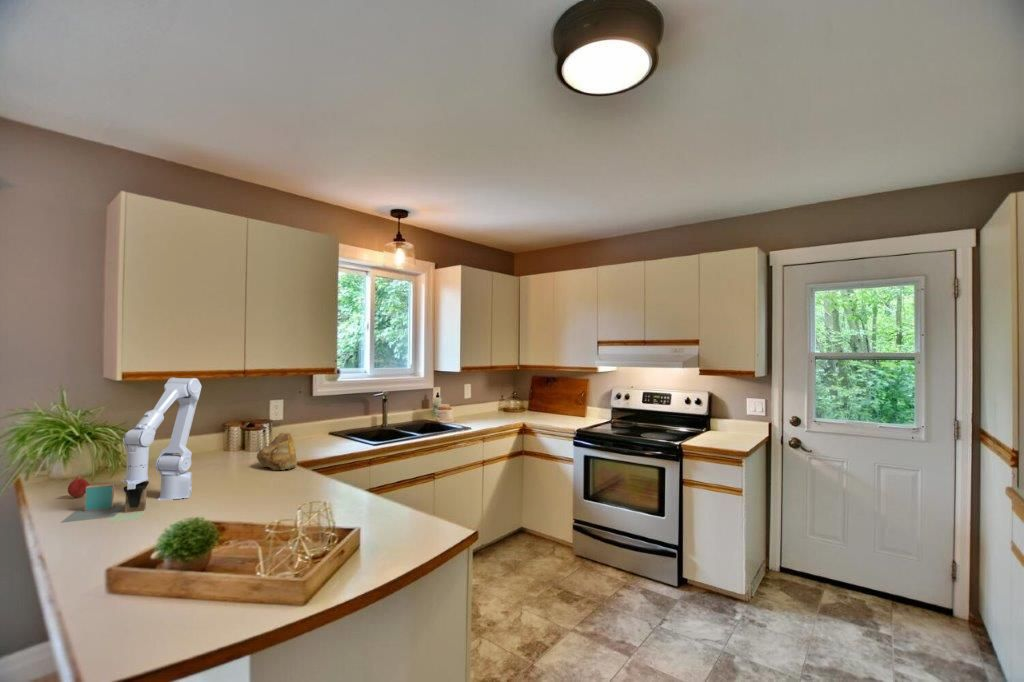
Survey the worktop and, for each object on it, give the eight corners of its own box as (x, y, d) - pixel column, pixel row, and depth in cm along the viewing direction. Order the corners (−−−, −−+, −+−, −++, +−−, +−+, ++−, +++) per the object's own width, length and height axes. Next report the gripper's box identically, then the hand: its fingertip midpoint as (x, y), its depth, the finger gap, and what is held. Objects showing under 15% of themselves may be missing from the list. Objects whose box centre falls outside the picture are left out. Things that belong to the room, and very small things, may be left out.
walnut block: (145, 509, 160) (146, 488, 161) (143, 511, 158) (144, 490, 158) (127, 511, 158) (128, 490, 158) (124, 513, 156) (125, 492, 156)
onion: (63, 501, 168) (64, 478, 168) (73, 496, 173) (74, 474, 173) (82, 500, 169) (84, 477, 169) (92, 495, 175) (93, 473, 175)
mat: (125, 505, 164) (125, 504, 164) (113, 518, 152) (113, 516, 152) (77, 510, 158) (77, 509, 158) (60, 523, 146) (60, 522, 146)
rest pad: (144, 513, 157) (144, 511, 157) (139, 519, 150) (139, 518, 150) (113, 516, 153) (113, 515, 153) (107, 523, 147) (107, 521, 147)
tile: (113, 507, 161) (114, 483, 161) (111, 508, 159) (112, 484, 159) (86, 510, 158) (87, 485, 158) (84, 511, 156) (85, 487, 156)
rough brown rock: (257, 465, 230) (255, 434, 230) (294, 459, 238) (293, 430, 238) (257, 477, 210) (255, 444, 209) (298, 471, 218) (296, 438, 217)
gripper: (128, 461, 163) (126, 501, 163) (116, 470, 150) (114, 513, 150) (153, 459, 166) (151, 498, 166) (143, 468, 153) (141, 511, 153)
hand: (135, 505), depth 158 cm, fingers closed on walnut block, 3 cm apart
